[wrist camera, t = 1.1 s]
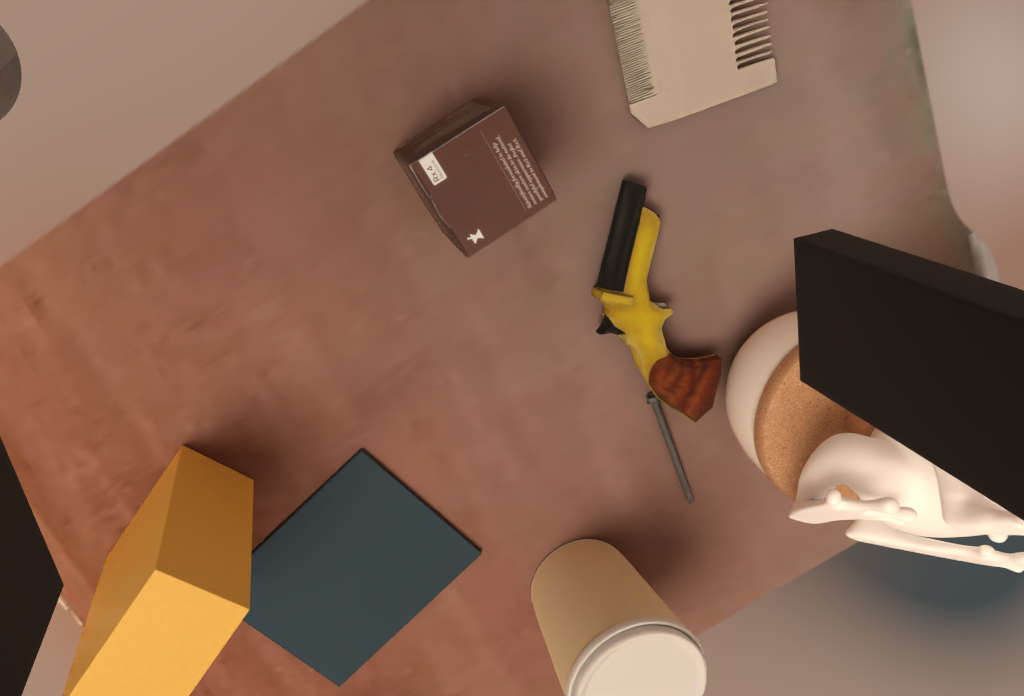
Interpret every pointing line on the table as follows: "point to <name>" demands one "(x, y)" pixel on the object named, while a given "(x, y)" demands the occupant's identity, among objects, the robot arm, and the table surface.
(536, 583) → the coffee cup
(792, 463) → the lidded bowl
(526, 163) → the box
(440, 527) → the slate mat
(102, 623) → the cereal box
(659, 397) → the toy gun
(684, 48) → the grooming comb
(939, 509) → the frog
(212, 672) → the table surface
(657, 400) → the screw
